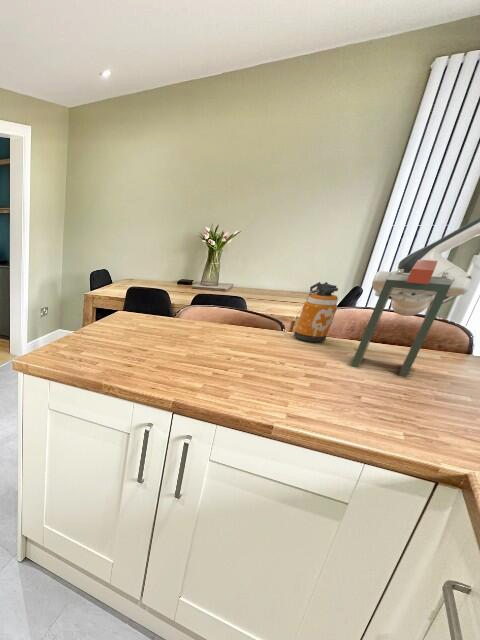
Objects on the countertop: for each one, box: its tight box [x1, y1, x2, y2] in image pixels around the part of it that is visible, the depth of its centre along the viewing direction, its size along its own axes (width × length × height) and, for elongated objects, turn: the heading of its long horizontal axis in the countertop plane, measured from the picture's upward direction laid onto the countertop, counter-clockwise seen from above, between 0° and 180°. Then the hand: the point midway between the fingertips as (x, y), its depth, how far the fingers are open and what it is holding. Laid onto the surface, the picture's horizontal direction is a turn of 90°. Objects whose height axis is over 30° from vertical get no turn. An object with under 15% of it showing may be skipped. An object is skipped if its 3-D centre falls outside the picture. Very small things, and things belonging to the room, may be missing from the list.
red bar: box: [407, 260, 438, 284], centre depth 111 cm, size 4×22×4 cm, turn 131°
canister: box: [293, 281, 339, 343], centre depth 141 cm, size 9×11×20 cm
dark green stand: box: [350, 274, 452, 378], centre depth 115 cm, size 12×11×26 cm
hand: (422, 273), depth 117 cm, fingers open, 8 cm apart
